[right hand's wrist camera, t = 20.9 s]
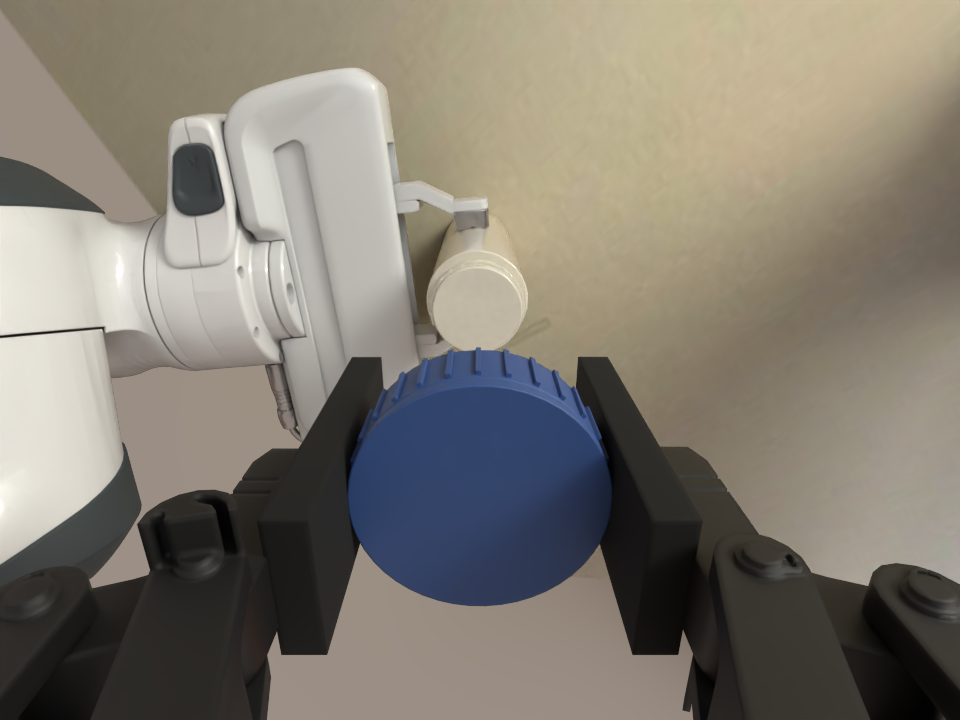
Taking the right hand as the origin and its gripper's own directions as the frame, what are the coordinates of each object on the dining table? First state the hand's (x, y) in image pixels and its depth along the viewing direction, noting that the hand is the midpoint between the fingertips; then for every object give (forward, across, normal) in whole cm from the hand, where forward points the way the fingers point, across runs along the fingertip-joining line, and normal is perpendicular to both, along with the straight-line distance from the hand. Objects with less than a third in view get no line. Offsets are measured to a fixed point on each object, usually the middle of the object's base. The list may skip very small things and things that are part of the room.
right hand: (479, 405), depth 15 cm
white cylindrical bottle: (+24, 0, 0) cm, 24 cm away
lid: (-4, 0, 0) cm, 4 cm away
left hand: (+17, -1, 0) cm, 17 cm away
